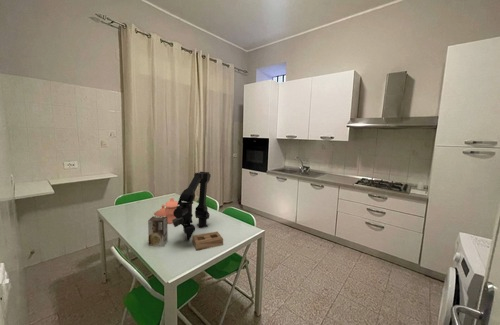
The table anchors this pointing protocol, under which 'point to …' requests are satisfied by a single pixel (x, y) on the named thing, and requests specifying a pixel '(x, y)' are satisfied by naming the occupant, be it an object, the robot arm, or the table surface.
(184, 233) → the pin
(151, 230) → the coffee box
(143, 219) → the table surface
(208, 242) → the bore block
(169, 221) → the ceramic vessels
